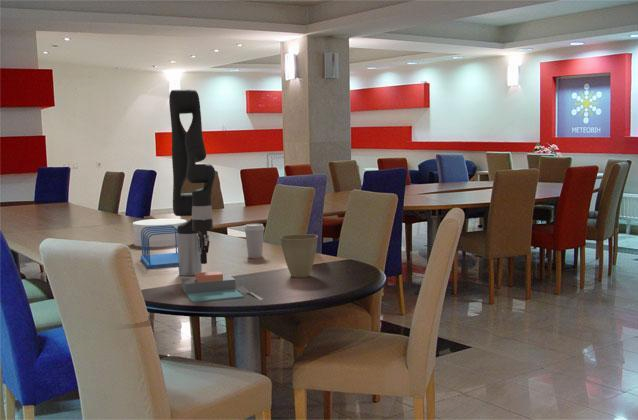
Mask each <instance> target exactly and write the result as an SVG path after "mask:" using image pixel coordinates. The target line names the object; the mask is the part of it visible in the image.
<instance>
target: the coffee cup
mask: <svg viewBox="0 0 638 420" xmlns="http://www.w3.org/2000/svg"><path fill="white" fill-rule="evenodd" d="M243 230H244V232H245V240H246V248H247V249H246V250H247V257H248V258H250V259H259V258H262V257H263V248H264V231H265V230H266V229H265V226H264V224H263V223H250V224H249V223H247V224H245V227H244V228H243Z"/></svg>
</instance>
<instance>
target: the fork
mask: <svg viewBox="0 0 638 420" xmlns="http://www.w3.org/2000/svg"><path fill="white" fill-rule="evenodd" d="M235 288H236V290H237V291H238V292H240V293H241V294H242V293H244V294H245V295H248V294H251V295H252V296H254V297H255V298H256V299H257V300H259V301H261V300H262V299H264V298H262V297H261V296H259V295H257V294H255V293H254V292H249V290H248V289H246V288H245V287H244V286H243V285H240V286H239V285H237V286H236V285H235Z"/></svg>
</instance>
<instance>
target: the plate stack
mask: <svg viewBox="0 0 638 420" xmlns="http://www.w3.org/2000/svg"><path fill="white" fill-rule="evenodd" d="M186 222H188V221H187V219H183V218H152V219H151V218H150V219H141V220H136V221H133V222H132V226H133V227H132V231H133V232H132V236H133V238H132V240H133V246H135V247H141V248H142V242H141V231H142V229H143V228H145V227H152V226H166V225H172V226H174V227H175V228H178V226H179V225H181V224H184V223H186ZM169 227H171V226H169ZM154 228H161V227H154ZM146 229H148V228H146ZM146 229H144V230H146ZM165 229H173V228H165ZM144 230H143V232H144ZM151 230H158V229H151ZM147 231H148V230H146V231H145V233H146V232H147ZM162 231H169V230H162ZM143 232H142V239H143ZM150 232H156V231H150ZM150 232H148V233H150ZM174 232H175V231H174ZM176 232H177V231H176ZM145 233H144V235H145ZM148 233H147V234H148ZM160 233H168V232H160ZM147 234H146V236H147ZM151 234H156V233H151ZM151 234H149V235H148V237H149V236H150V235H151ZM148 237H147V241H148ZM176 238H177V233H176ZM174 245H175V246H176V242H175V233H172V234H160V235H152V236H151V237H150V238H149V248H163V247H164V246H165V247H174ZM144 246H145V241H144ZM177 246H178V239H177ZM146 248H147V246H146Z"/></svg>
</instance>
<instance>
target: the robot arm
mask: <svg viewBox="0 0 638 420" xmlns="http://www.w3.org/2000/svg"><path fill="white" fill-rule="evenodd" d="M168 97H169V98H168V100H169V102H168V103H169V114H170V124H171V125H170V126H171V160H172V161H171V162H172V163H171V165H172V181H173V182H172V210H173V214H174V216H176V217H190V216H191V218H190V219H189V220H188V221H187V222H186V223H184V224H181V225H179V226H178V228H177V232H178V245H177V253H178V258H179V266H178V275H180V276H184V277H189V276H190V277H191V276H192V277H193V276H195V273H203V270H202V267H203V266H202V265H207V263H208V254H209V250H210V249H209V248H210V236H209V235H208V232H209V231H210V232H211V231H212V230H213V227H214V226H213V225H214V224H213V220H214V219H213V208H212V190H213V186H214V181H215V178H216V170H215V167H214V165H212V164H210V163H200V162H202V161H204V160H205V159H206V158H207V151H206V146H205V142H204V137H203V127H202V112H201V104H200V97H199V94H198V91H197V90H196V89H192V88H191V89H173V90H171V91H170V92H169V96H168ZM183 114H185V115H187V114H191V115H192V118H191V119H192V120H191V123H190V125H189V127H188V130H187V131H186V130H185V127H184V126H183V124H182V121H181V117H180V115H183ZM197 163H198V164H197ZM186 180H187V181H188V182H189V183H190V184H203V186H202V187H201V188H199V189H195V190H193V191H192V192H187V193H182V189H183V186H184V183H185V182H186Z"/></svg>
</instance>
